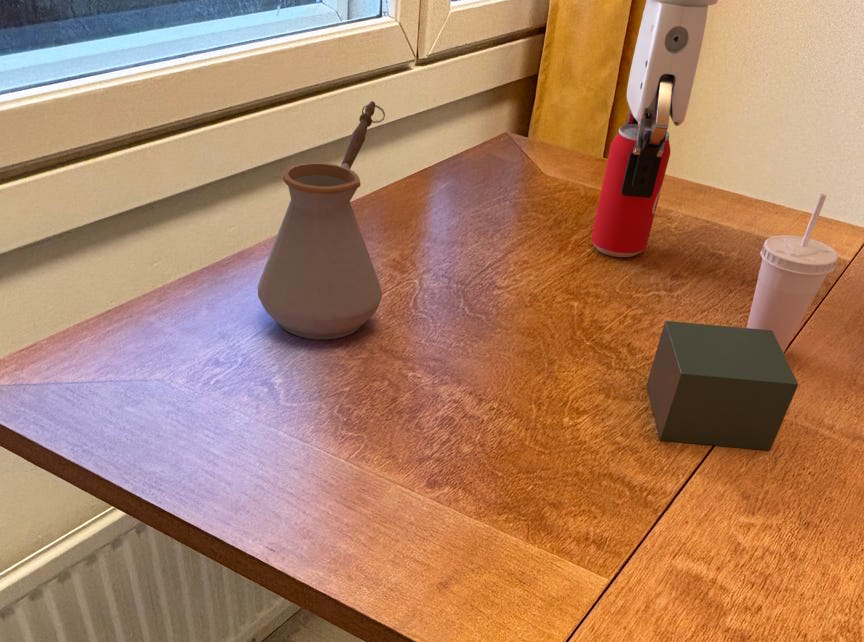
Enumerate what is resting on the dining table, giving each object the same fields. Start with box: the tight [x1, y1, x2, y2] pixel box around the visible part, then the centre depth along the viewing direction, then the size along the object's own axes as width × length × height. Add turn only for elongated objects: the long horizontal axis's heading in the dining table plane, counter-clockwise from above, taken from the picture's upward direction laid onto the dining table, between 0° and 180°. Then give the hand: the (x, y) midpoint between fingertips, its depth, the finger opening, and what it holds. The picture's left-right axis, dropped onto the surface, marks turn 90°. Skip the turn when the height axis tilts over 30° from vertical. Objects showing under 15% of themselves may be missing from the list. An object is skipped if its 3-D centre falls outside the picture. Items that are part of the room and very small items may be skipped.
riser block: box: [645, 320, 799, 452], centre depth 74 cm, size 9×9×6 cm
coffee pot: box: [257, 100, 386, 340], centre depth 82 cm, size 21×12×15 cm, turn 164°
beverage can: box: [590, 124, 671, 258], centre depth 96 cm, size 6×6×12 cm
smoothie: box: [746, 193, 839, 353], centre depth 80 cm, size 6×6×14 cm
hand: (632, 182), depth 95 cm, fingers closed on beverage can, 6 cm apart
